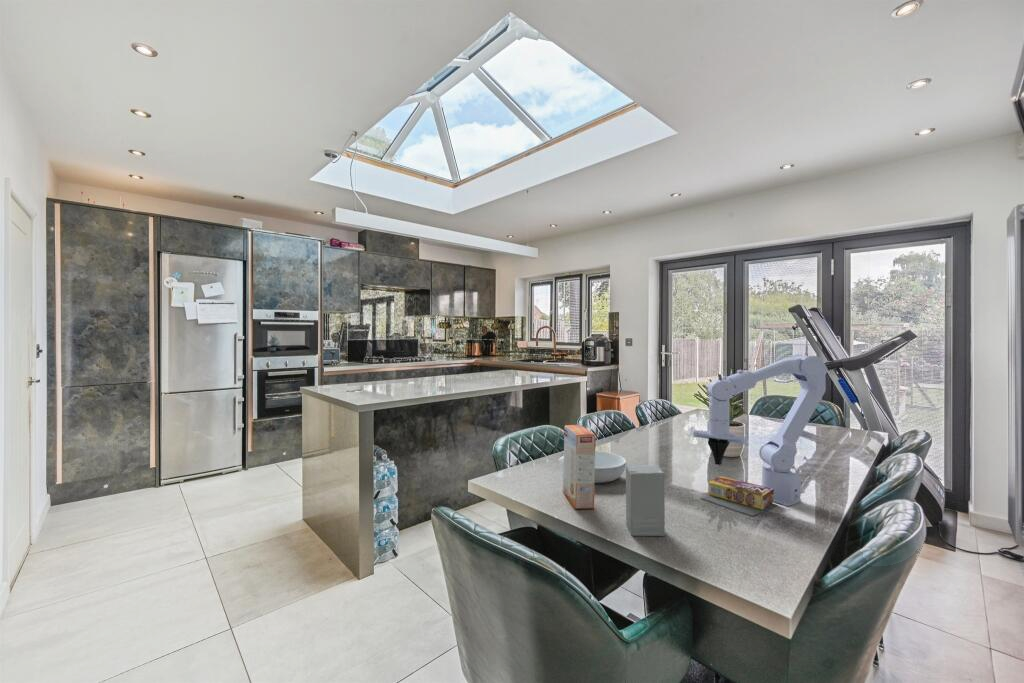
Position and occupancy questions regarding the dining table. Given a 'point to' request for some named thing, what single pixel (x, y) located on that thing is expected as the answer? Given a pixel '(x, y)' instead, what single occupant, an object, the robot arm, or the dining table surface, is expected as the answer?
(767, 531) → the dining table surface
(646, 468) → the skincare box
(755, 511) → the mat
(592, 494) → the cracker box
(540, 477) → the dining table surface
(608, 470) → the serving bowl
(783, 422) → the robot arm
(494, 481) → the dining table surface
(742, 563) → the dining table surface
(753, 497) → the candy box
